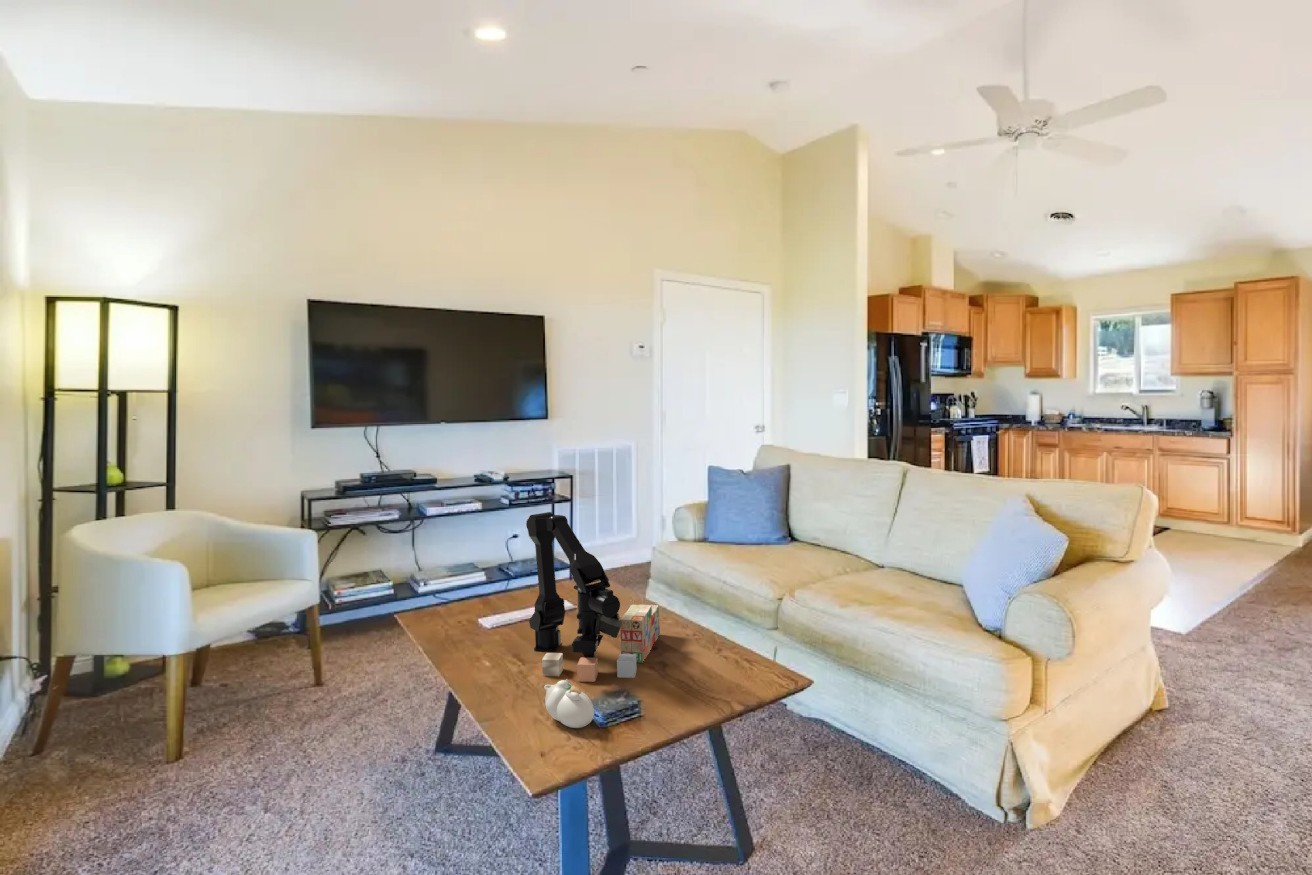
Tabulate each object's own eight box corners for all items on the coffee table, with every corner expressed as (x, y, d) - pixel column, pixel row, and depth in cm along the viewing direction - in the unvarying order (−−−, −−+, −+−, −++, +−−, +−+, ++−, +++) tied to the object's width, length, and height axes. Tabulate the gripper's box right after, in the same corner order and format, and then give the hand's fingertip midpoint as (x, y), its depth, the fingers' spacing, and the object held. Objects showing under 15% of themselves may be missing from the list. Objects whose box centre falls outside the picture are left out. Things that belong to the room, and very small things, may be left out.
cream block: (542, 676, 176) (542, 659, 175) (546, 668, 180) (546, 652, 180) (559, 676, 175) (558, 659, 175) (563, 669, 180) (562, 653, 179)
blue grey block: (617, 677, 174) (616, 660, 173) (619, 670, 178) (619, 653, 178) (634, 677, 173) (634, 661, 173) (636, 670, 178) (636, 654, 177)
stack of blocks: (640, 633, 204) (639, 594, 203) (660, 634, 203) (659, 595, 202) (621, 661, 184) (619, 618, 183) (643, 663, 182) (641, 619, 181)
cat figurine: (594, 689, 146) (551, 664, 156) (569, 719, 142) (526, 691, 151) (608, 715, 151) (565, 689, 161) (585, 744, 147) (542, 715, 156)
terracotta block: (577, 681, 172) (577, 664, 171) (581, 673, 176) (580, 657, 176) (594, 681, 171) (594, 664, 171) (597, 674, 176) (597, 657, 175)
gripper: (613, 620, 166) (615, 680, 168) (623, 597, 185) (625, 651, 186) (570, 620, 167) (572, 680, 169) (584, 597, 186) (586, 651, 187)
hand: (591, 665), depth 178 cm, fingers closed
